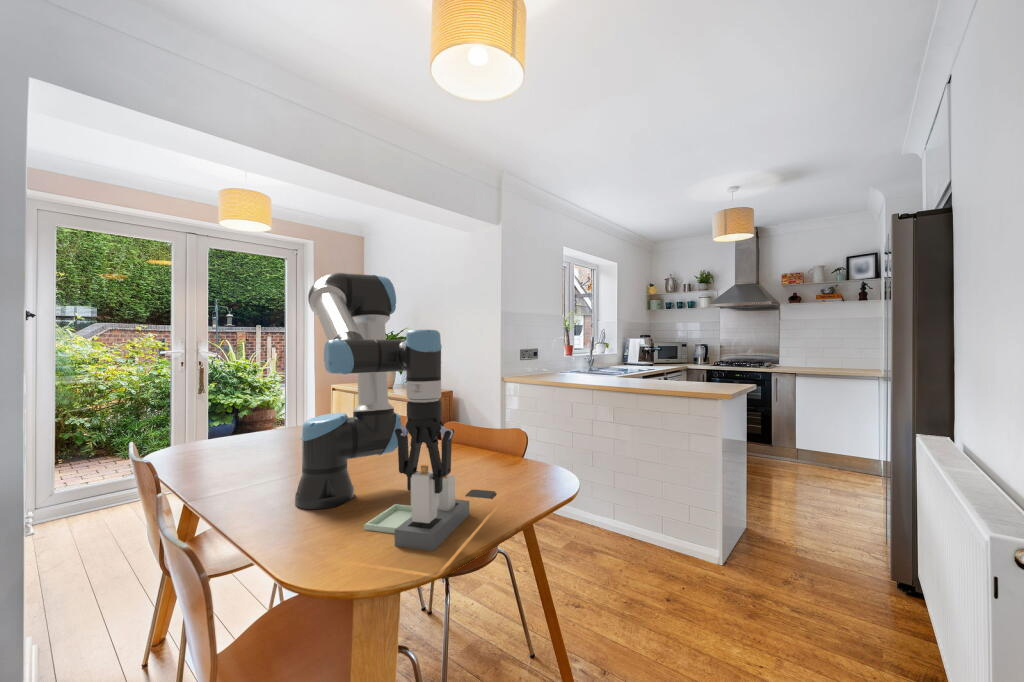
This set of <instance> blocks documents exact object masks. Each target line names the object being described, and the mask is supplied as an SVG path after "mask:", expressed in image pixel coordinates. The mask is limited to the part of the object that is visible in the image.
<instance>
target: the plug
mask: <svg viewBox="0 0 1024 682" xmlns="http://www.w3.org/2000/svg"><path fill="white" fill-rule="evenodd" d="M417 471H418V472H417ZM417 471H416V473H414V474H413V475H412V521H413V522H422V523H430V522H431V521H432V520H433V519H435V518H436V517H437V508H435V509H434V510H431V505H430V479H432V477H433V472H432V470H429V465H427V464H424V465H423V464H422V465H420V469H419V470H417Z"/></svg>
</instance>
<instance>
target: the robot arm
mask: <svg viewBox="0 0 1024 682" xmlns="http://www.w3.org/2000/svg"><path fill="white" fill-rule="evenodd" d="M307 300H308V305H309V308H310V309H311V311H312V312H313V313H314V314H315V315H316V316H318V319H319V322H320V324H321V326H322V329H323V332H324V334H325V336H326V339H327V341H326V342H325V344H324V348H323V362H324V367H325V370H326V372H327V373H329V374H341V375H348V374H357V375H356V376H357V401H358V402H357V405H356V407H354V409H353V411H352V414H353V415H352V417H351V416H348V414H347V413H345V412H335V413H334V412H333V413H327V414H326V413H325V414H322V415H318V416H315V417H311V418H309V419H307V420H306V421H305V422H304V423H303V424H302V429H301V430H302V431H301V437H300V440H301V466H302V467H301V476H300V479H299V483H298V485H297V490H296V492H295V496H294V504H295V506H296V507H297V508H300V509H303V510H304V509H305V510H320V509H321V510H322V509H327V508H328V509H329V508H334V507H338V506H341V505H344V504H346V503H348V502H350V501H351V500H353V498H354V497H355V488H354V485H353V483H352V479H351V476H350V474H349V470H348V460H350V459H357V458H363V457H364V458H365V457H370V456H378V455H379V456H382V455H384V454H390V453H393V452H394V451H396V449H397V451H398V452H397V458H398V472H399V474H403V475H405V476H406V478H407V479H406V481H407V491H408V492H410V506H411V508H412V475H413V474H414V473H416V472H418V471H419V470H418V465H419V459H420V453H421V448H422V447H421V446H422V445H423V443H424V444H425V445H426V449H427V451H428V456H429V460H430V466H431V471H432V472H433V477H432V479H430V505H431V510H434V509H435V508H437V507H438V506H439V493H440V492H442V489H443V487H442V478H443V477H445V476H446V475H450V474H451V472H452V443H453V442H452V441H453V437H454V435H455V430H454V429H453V428H450V429H449V428H446V426H444V424H443V422H442V415H443V414H442V401H441V400H440V399H441V398H442V348H443V347H442V343H441V341H442V340H441V333H440V331H439V330H436V329H409V330H408V331H407V332H406V336H405V339H387V337H386V336H387V335H386V333H387V332H386V324H387V323H388V321H390V319H391V315H392V314H394V313H395V312H396V307H397V306H396V305H397V295H396V291H395V287H394V284H393V282H392V280H390V278H388V277H387V276H379V275H376V274H358V273H345V272H333V273H330V274H329V273H328V274H326V275H324V276H322V277H320V278H318V279H317V280H316V281H315V282H314V283H313V285H311V287H310V289H309V292H308V297H307ZM390 372H394V373H395V372H406V374H405V375H406V398H407V399H408V401H407V402H406V418H407V422H406V424H405V425H404V426H403V425H402V420H401V419H402V418H401V415H400V414H399V413H398V412H395V408H394V406H393V405H392V404H391V403H390V402H389V389H388V387H389V385H388V373H390ZM408 434H409V435H410V437H411V439H410V451H409V437H408ZM440 434H441V438H442V441H441V453H440V449H439V439H438V437H439V436H440Z"/></svg>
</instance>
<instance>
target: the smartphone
mask: <svg viewBox="0 0 1024 682" xmlns="http://www.w3.org/2000/svg"><path fill="white" fill-rule="evenodd" d="M496 493H497V492H496V491H494V490H484V489H471V490H469V491H468V492H467V493H466V494H465V495H464V497H467V498H468V497H469V498H479V499H480V498H481V499H490V500H492V499H493V498H494V497H495V495H496Z"/></svg>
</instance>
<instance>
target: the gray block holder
mask: <svg viewBox="0 0 1024 682" xmlns="http://www.w3.org/2000/svg"><path fill="white" fill-rule="evenodd" d="M442 487H443V489H442V492H440V493H439V506H438V507H437V517H436V518H435V519H433V520H432V521H431V522H430V523H422V522H413V521H412V517H410V518H409V519H408V520H406V521H405V522H404V523H403V524H401V525H400V526H399V527H397V528H396V529H395V534H394V547H400V548H401V547H402V548H408V549H415V550H423V551H428V552H429V551H431V552H434V551H435V550H436V549H437V548H438V547H439V546H440V545H442V544H443V542H444V541H446V539H447V538H448V537H449V536H450V535H451V534H452V533H453V532H454V531H455V530H456V529H457V528H458V527H459V526H460V525H461V524H462V523H463V522H464V521H465V520H466V519H467V518H468V517H469V516H470V500H465V499H457V498H456V475H453V474H448V475H446V476H445V477H443V478H442Z"/></svg>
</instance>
